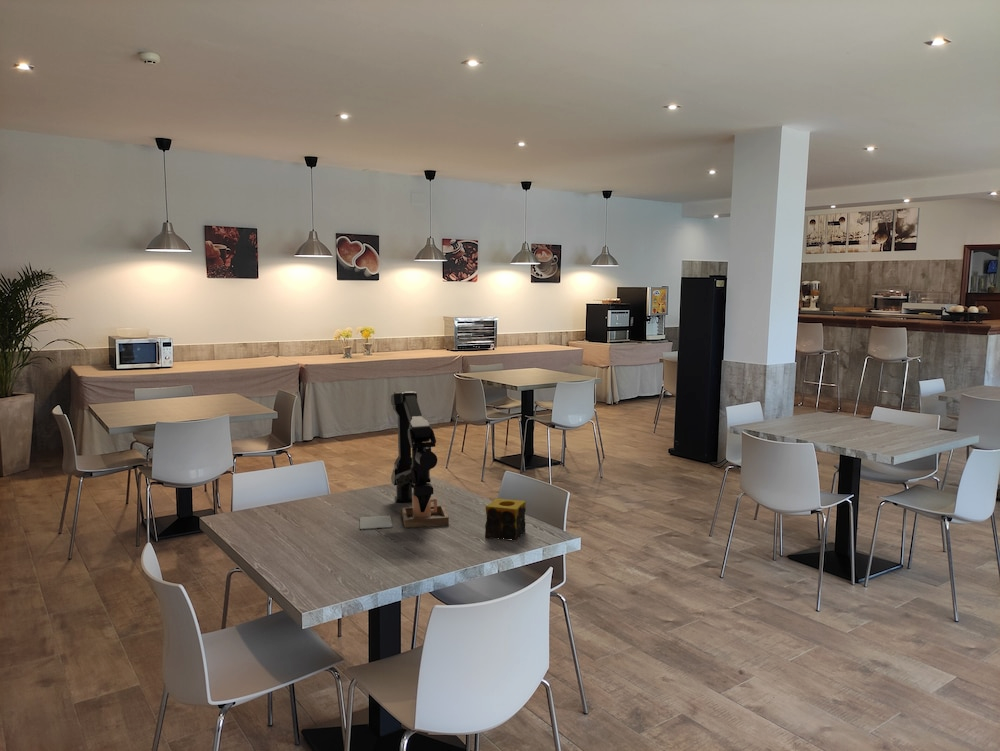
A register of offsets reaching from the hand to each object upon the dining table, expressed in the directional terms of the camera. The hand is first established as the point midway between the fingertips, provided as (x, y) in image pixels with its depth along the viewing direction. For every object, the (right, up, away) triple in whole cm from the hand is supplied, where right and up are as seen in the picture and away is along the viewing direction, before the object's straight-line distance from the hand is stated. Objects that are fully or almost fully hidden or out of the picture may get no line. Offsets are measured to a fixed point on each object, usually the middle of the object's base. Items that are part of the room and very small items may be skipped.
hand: (421, 509), depth 237 cm
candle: (+27, -5, -14) cm, 31 cm away
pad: (-15, -4, -3) cm, 15 cm away
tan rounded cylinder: (0, -4, 0) cm, 4 cm away
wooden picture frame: (+1, -4, +1) cm, 4 cm away
